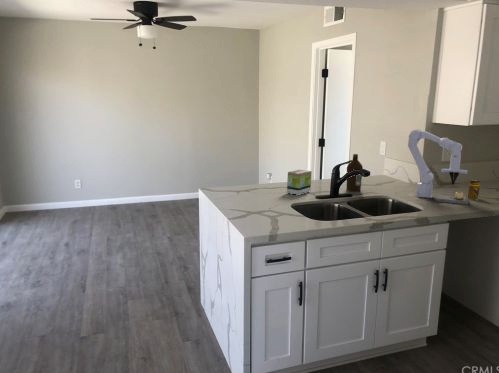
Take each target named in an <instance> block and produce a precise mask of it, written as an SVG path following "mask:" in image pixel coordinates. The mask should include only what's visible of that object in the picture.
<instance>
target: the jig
mask: <svg viewBox="0 0 499 373" xmlns="http://www.w3.org/2000/svg"><path fill="white" fill-rule="evenodd" d="M467 197H468V196H466V197H464V196H463V200H458V199H455V196H453V195H442V194H441V195H440V194H435V202H436V203H437V202H438V203H445V204H446V203H448V204H456V203H457V204H459V205H466V206H468V205H469V203H470V202H469V201H470V200H469V199H468V198H467Z"/></svg>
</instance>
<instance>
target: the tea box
mask: <svg viewBox="0 0 499 373" xmlns="http://www.w3.org/2000/svg"><path fill="white" fill-rule="evenodd" d="M286 181H287V182H286V194H287V193H291V194H290V195H292V194H296V195H295V196H298V195H299V196H302V195H304V193H305V194H308V193H307V192H309V191H310V192H311V190H312V189H311V188H312V186H311V185H312V171H311V170H306V169H295V170H292V171H287V180H286ZM310 192H309V193H310ZM301 194H302V195H301Z"/></svg>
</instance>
